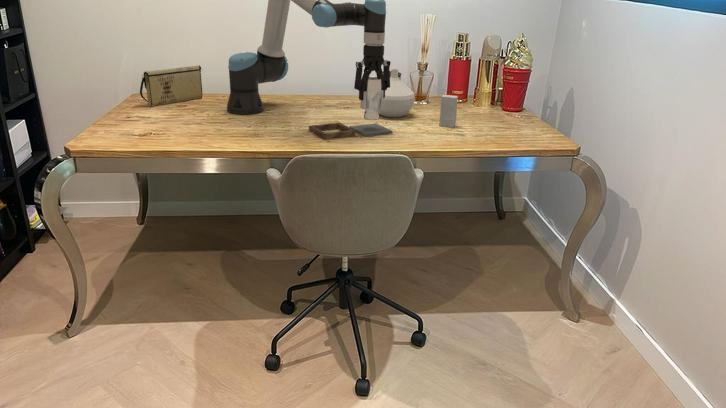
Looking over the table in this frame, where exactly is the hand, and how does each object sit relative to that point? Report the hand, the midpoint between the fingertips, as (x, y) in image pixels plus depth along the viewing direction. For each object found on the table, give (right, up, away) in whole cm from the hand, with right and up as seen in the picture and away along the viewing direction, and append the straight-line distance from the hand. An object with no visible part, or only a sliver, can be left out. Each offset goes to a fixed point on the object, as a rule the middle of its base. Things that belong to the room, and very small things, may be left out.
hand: (371, 107), depth 205 cm
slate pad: (0, -8, +4) cm, 9 cm away
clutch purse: (-88, +9, +38) cm, 96 cm away
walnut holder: (-15, -10, -1) cm, 18 cm away
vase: (+9, +2, +29) cm, 31 cm away
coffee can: (+9, +10, +49) cm, 51 cm away
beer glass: (0, -4, +2) cm, 4 cm away
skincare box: (+31, -5, +15) cm, 35 cm away
